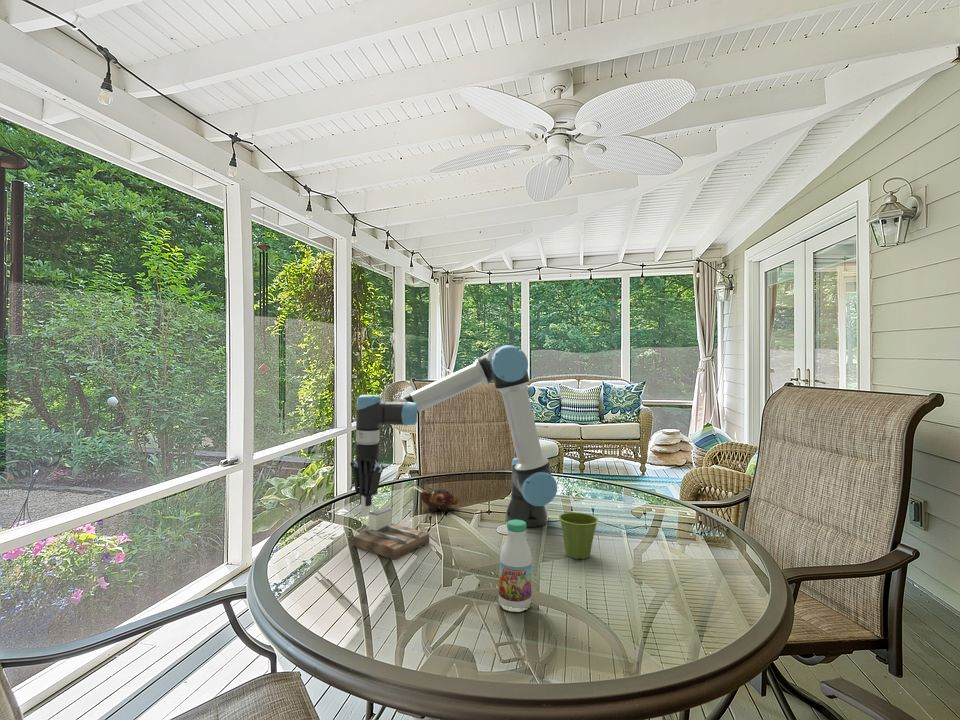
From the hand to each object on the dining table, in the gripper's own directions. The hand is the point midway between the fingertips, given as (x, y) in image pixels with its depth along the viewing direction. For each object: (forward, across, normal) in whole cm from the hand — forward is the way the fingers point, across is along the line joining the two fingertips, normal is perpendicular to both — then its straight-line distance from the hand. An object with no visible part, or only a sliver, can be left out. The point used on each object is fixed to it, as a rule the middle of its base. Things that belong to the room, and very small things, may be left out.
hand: (365, 515), depth 159 cm
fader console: (+7, +12, 0) cm, 13 cm away
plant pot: (+7, +62, +27) cm, 68 cm away
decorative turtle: (+7, +2, +37) cm, 38 cm away
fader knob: (+4, +7, 0) cm, 8 cm away
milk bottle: (+7, +61, -11) cm, 62 cm away
